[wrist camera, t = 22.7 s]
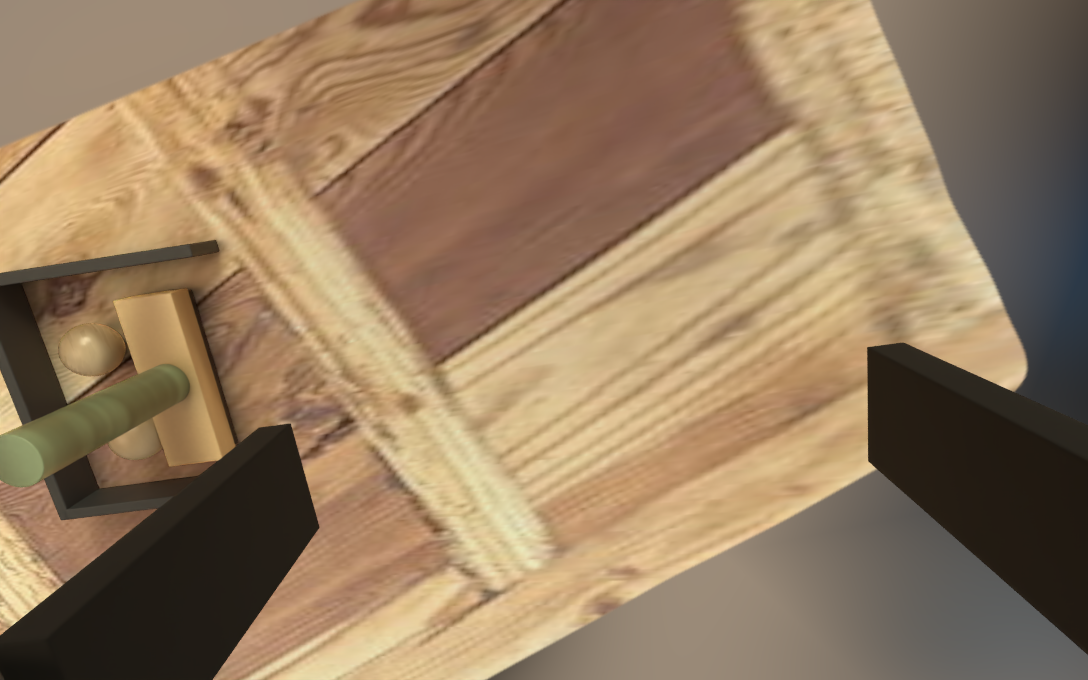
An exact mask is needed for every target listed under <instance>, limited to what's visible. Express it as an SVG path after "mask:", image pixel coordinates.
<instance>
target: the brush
mask: <svg viewBox="0 0 1088 680" xmlns="http://www.w3.org/2000/svg"><path fill="white" fill-rule="evenodd" d="M113 303H114V306H115V309H116V312H117V315H118V318H119V321H120V324H121V327H122V330H123V333H124V336H125V338H126V341H127V344H128V347H129V350H130V353H131V356H132V359H133V362H134V365H135V368H136V371H137V375H135V376H133V377H131V378H128V379H126V380H124V381H122V382H119V383H117V384H115V385H113V386H110V387H108V388H106V389H104V390H101V391H99V392H97V393H95V394H92V395H90V396H88V397H86V398H83V399H81V400H79V401H76V402H74V403H72V404H70V405H67V406H65V407H63V408H61V409H58V410H56V411H54V412H52V413H49V414H47V415H45V416H43V417H40V418H38V419H36V420H34V421H31V422H29V423H27V424H25V425H22V426H20V427H18V428H16V429H13V430H11V431H9V432H7V433H4V434H2V435H0V480H1V481H3V482H4V483H6V484H9V485H11V486H15V487H29V486H32V485H34V484H36V483H38V482H40V481H41V480H43V479H45V478H47V477H48V476H50V475H52V474H54V473H55V472H57V471H59V470H61V469H63V468H64V467H66V466H68V465H70V464H71V463H73V462H75V461H77V460H78V459H80V458H82V457H84V456H85V455H87V454H89V453H91V452H93V451H94V450H96V449H98V448H100V447H101V446H103V445H105V444H107V443H108V442H110V441H112V440H114V439H115V438H117V437H119V436H121V435H123V434H124V433H126V432H128V431H130V430H131V429H133V428H135V427H137V426H138V425H140V424H142V423H144V422H146V421H147V420H149V419H151V418H153V421H154V424H155V427H156V430H157V432H158V435H159V438H160V441H161V444H162V447H163V450H164V453H165V456H166V459H167V462H168V465H169V467H172V466H180V465H188V464H195V463H203V462H211V461H218V460H220V459H221V458H222V457H223V456H224V455H226V454H227V453H228V452H229V451H231V450H232V449H233V448H234V447H236V446H235V445H236V444H237V443H238V441H237V437H236V434H235V431H234V428H233V424H232V421H231V418H230V414H229V411H228V408H227V405H226V401H225V398H224V395H223V391H222V388H221V385H220V382H219V378H218V375H217V372H216V368H215V365H214V362H213V359H212V355H211V352H210V349H209V345H208V342H207V339H206V335H205V332H204V329H203V326H202V322H201V319H200V316H199V312H198V309H197V306H196V303H195V299H194V296H193V293H192V290H188V289H187V288H183V289H176V290H170V291H163V292H156V293H149V294H142V295H136V296H130V297H126V298H122V299H118V300H115V301H113Z"/></svg>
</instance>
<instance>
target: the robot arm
mask: <svg viewBox="0 0 1088 680" xmlns="http://www.w3.org/2000/svg"><path fill="white" fill-rule="evenodd" d="M867 361H868V461H869V462H870V463H871V464H872V465H873V466H874V467H875V468H877V469H878V470H879V471H880V472H881V473H882V474H884V475H885V476H886V477H887V478H888V479H889V480H890V481H891V482H892V483H894V484H895V485H896V486H897V487H898V488H899V489H900V490H902V491H903V492H904V493H905V494H906V495H907V496H908V497H910V498H911V499H912V500H913V501H914V502H915V503H916V504H917V505H919V506H920V507H921V508H922V509H923V510H924V511H925V512H927V513H928V514H929V515H930V516H931V517H932V518H933V519H935V520H936V521H937V522H938V523H939V524H940V525H941V526H942V527H943V528H945V529H946V530H947V531H948V532H949V533H950V534H952V535H953V536H954V537H955V538H956V539H957V540H958V541H959V542H961V543H962V544H963V545H964V546H965V547H966V548H967V549H968V550H970V551H971V552H972V553H973V554H974V555H975V556H976V557H977V558H979V559H980V560H981V561H982V562H983V563H984V564H986V565H987V566H988V567H989V568H990V569H991V570H992V571H993V572H995V573H996V574H997V575H998V576H999V577H1000V578H1001V579H1003V580H1004V581H1005V582H1006V583H1007V584H1008V585H1009V586H1011V587H1012V588H1013V589H1014V590H1015V591H1016V592H1017V593H1019V595H1021V596H1022V597H1023V598H1024V599H1025V600H1026V601H1028V602H1029V603H1030V604H1031V605H1032V606H1033V607H1034V608H1035V609H1036V610H1038V611H1039V612H1040V613H1041V614H1042V615H1043V616H1045V617H1046V618H1047V619H1048V620H1049V621H1050V622H1051V623H1053V624H1054V625H1055V626H1056V627H1057V628H1058V629H1059V630H1060V631H1061V632H1063V633H1064V634H1065V635H1066V636H1067V637H1068V638H1069V639H1071V640H1072V641H1073V642H1074V643H1075V644H1076V645H1077V646H1078V647H1080V648H1081V649H1082V650H1083V651H1084V652H1085V653H1086V654H1088V425H1086V424H1084V423H1082V422H1079V421H1077V420H1075V419H1073V418H1070V417H1068V416H1066V415H1063V414H1061V413H1059V412H1057V411H1055V410H1053V409H1050V408H1048V407H1046V406H1044V405H1041V404H1039V403H1037V402H1035V401H1032V400H1030V399H1028V398H1026V397H1024V396H1021V395H1019V394H1017V393H1015V392H1012V391H1010V390H1008V389H1006V388H1003V387H1001V386H999V385H997V384H995V383H992V382H990V381H988V380H986V379H983V378H981V377H979V376H977V375H974V374H972V373H970V372H968V371H966V370H963V369H961V368H959V367H957V366H954V365H952V364H950V363H948V362H945V361H943V360H941V359H939V358H937V357H934V356H932V355H930V354H928V353H925V352H923V351H921V350H919V349H916V348H914V347H912V346H910V345H908V344H905V343H896V344H889V345H881V346H874V347H867ZM318 529H319V524H318V520H317V517H316V513H315V510H314V506H313V502H312V499H311V495H310V492H309V488H308V484H307V481H306V477H305V474H304V470H303V466H302V463H301V459H300V455H299V452H298V448H297V445H296V441H295V437H294V434H293V430H292V427H291V424H284V425H276V426H269V427H261V428H258V429H257V430H256V431H254V432H253V433H252V434H251V435H249V436H248V437H247V438H246V439H244V440H243V441H242V442H241V443H239V444H238V445H237V446H236V447H234V448H233V449H232V450H231V451H229V452H228V453H227V454H226V455H224V456H223V457H222V458H221V459H220V460H218V461H217V462H216V463H215V464H213V465H212V466H211V467H210V468H208V469H207V470H206V471H205V472H203V473H202V474H201V475H200V476H198V477H197V478H196V479H195V480H193V481H192V482H191V483H190V484H188V485H187V486H186V487H185V488H183V489H182V490H181V491H180V492H178V493H177V494H176V495H175V496H173V497H172V498H171V499H170V500H168V501H167V502H166V503H165V504H163V505H162V506H161V507H160V508H158V509H157V510H156V511H155V512H153V513H152V514H151V515H150V516H148V517H147V518H146V519H145V520H143V521H142V522H141V523H140V524H139V525H137V526H136V527H135V528H134V529H132V530H131V531H130V532H129V533H127V534H126V535H125V536H124V537H122V538H121V539H120V540H119V541H117V542H116V543H115V544H114V545H112V546H111V547H110V548H109V549H107V550H106V551H105V552H104V553H102V554H101V555H100V556H99V557H97V558H96V559H95V560H94V561H92V562H91V563H90V564H89V565H87V566H86V567H85V568H84V569H82V570H81V571H80V572H79V573H77V574H76V575H75V576H74V577H72V578H71V579H70V580H69V581H67V582H66V583H65V584H64V585H62V586H61V587H60V588H59V589H58V590H56V591H55V592H54V593H53V594H51V595H50V596H49V597H48V598H46V599H45V600H44V601H43V602H41V603H40V604H39V605H38V606H36V607H35V608H34V609H33V610H31V611H30V612H29V613H28V614H26V615H25V616H24V617H23V618H21V619H20V620H19V621H18V622H16V623H15V624H14V625H13V626H11V627H10V628H9V629H8V630H6V631H5V632H4V633H3V634H1V635H0V680H213V678H214V677H215V675H216V674H217V673H218V671H219V670H220V668H221V667H222V666H223V664H224V663H225V661H226V660H227V658H228V657H229V656H230V654H231V653H232V651H233V650H234V648H235V647H236V646H237V644H238V643H239V641H240V640H241V638H242V637H243V636H244V634H245V633H246V631H247V630H248V629H249V627H250V626H251V624H252V623H253V621H254V620H255V619H256V617H257V616H258V614H259V613H260V611H261V610H262V609H263V607H264V606H265V604H266V603H267V601H268V600H269V599H270V597H271V596H272V594H273V593H274V591H275V590H276V589H277V587H278V586H279V584H280V583H281V582H282V580H283V579H284V577H285V576H286V574H287V573H288V572H289V570H290V569H291V567H292V566H293V564H294V563H295V562H296V560H297V559H298V557H299V556H300V554H301V553H302V552H303V550H304V549H305V547H306V546H307V545H308V543H309V542H310V540H311V539H312V537H313V536H314V535H315V533H316V532H317V530H318Z"/></svg>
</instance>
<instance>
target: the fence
mask: <svg viewBox="0 0 1088 680" xmlns="http://www.w3.org/2000/svg"><path fill="white" fill-rule="evenodd" d="M216 252H219V249H218V245H217V242H216V240H213V241H207V242H200V243H193V244H187V245H180V246H174V247H167V248H161V249H154V250H148V251H141V252H135V253H128V254H122V255H115V256H109V257H102V258H95V259H89V260H82V261H76V262H69V263H63V264H56V265H50V266H43V267H37V268H30V269H24V270H17V271H11V272H4V273H0V370H1V373H2V375H3V378H4V380H5V383H6V385H7V388H8V390H9V393H10V395H11V398H12V400H13V403H14V405H15V408H16V410H17V413H18V415H19V418H20V420H21V423H22V425H25V424H27V423H29V422H31V421H34V420H36V419H38V418H40V417H43V416H45V415H47V414H49V413H52V412H54V411H56V410H58V409H61V408H63V407H65V406H67V404H66V401H65V399H64V396H63V393H62V391H61V388H60V385H59V383H58V380H57V377H56V375H55V372H54V369H53V367H52V364H51V362H50V359H49V356H48V354H47V351H46V348H45V346H44V343H43V340H42V338H41V335H40V332H39V330H38V327H37V325H36V322H35V319H34V317H33V314H32V311H31V309H30V306H29V303H28V301H27V298H26V295H25V293H24V290H23V288H22V285H21V283H24V282H31V281H37V280H44V279H50V278H57V277H64V276H70V275H77V274H83V273H90V272H97V271H103V270H110V269H116V268H123V267H129V266H136V265H143V264H149V263H156V262H162V261H169V260H176V259H182V258H189V257H195V256H200V255H205V254H211V253H216ZM197 477H198V476H196V477H188V478H181V479H173V480H165V481H157V482H149V483H142V484H134V485H126V486H118V487H110V488H102V489H99V488H98V486H97V483H96V480H95V478H94V475H93V473H92V470H91V467H90V465H89V462H88V459H87V457H86V455H85V456H84V457H82V458H80V459H78V460H77V461H75V462H73V463H71V464H70V465H68V466H66V467H64V468H63V469H61V470H59V471H57V472H55V473H54V474H52V475H50V476H48V477H47V478H45V479H44V480H45V482H46V485H47V487H48V490H49V492H50V495H51V497H52V500H53V502H54V505H55V507H56V509H57V512H58V514H59V517H60V519H61V520H68V519H76V518H84V517H92V516H100V515H108V514H116V513H124V512H132V511H140V510H148V509H156V508H160V507H161V506H162V505H163V504H165V503H166V502H167V501H168V500H170V499H171V498H172V497H173V496H175V495H176V494H177V493H178V492H180V491H181V490H182V489H183V488H185V487H186V486H187V485H188V484H190V483H191V482H192V481H193V480H195V479H196V478H197Z"/></svg>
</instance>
